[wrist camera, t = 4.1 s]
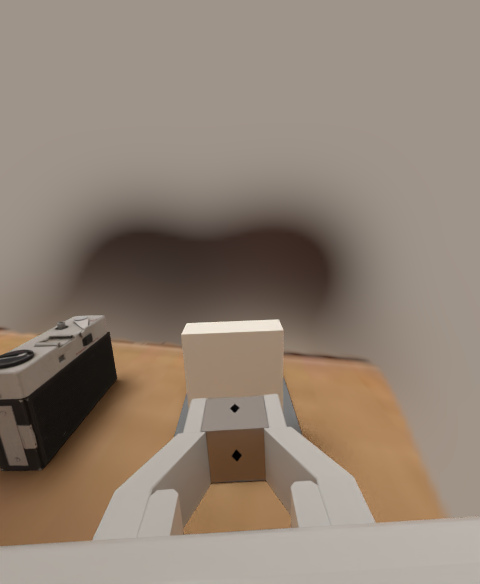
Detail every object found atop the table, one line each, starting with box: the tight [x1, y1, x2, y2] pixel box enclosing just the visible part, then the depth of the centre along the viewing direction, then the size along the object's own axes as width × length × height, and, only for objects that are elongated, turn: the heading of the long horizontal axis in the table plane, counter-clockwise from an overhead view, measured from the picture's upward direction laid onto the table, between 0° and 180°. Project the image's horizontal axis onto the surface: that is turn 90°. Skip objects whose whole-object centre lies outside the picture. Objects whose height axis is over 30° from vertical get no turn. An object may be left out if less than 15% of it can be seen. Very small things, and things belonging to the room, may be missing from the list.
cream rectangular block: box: [181, 320, 283, 410], centre depth 23 cm, size 8×3×11 cm, turn 91°
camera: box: [0, 315, 117, 471], centre depth 28 cm, size 14×9×10 cm, turn 172°
